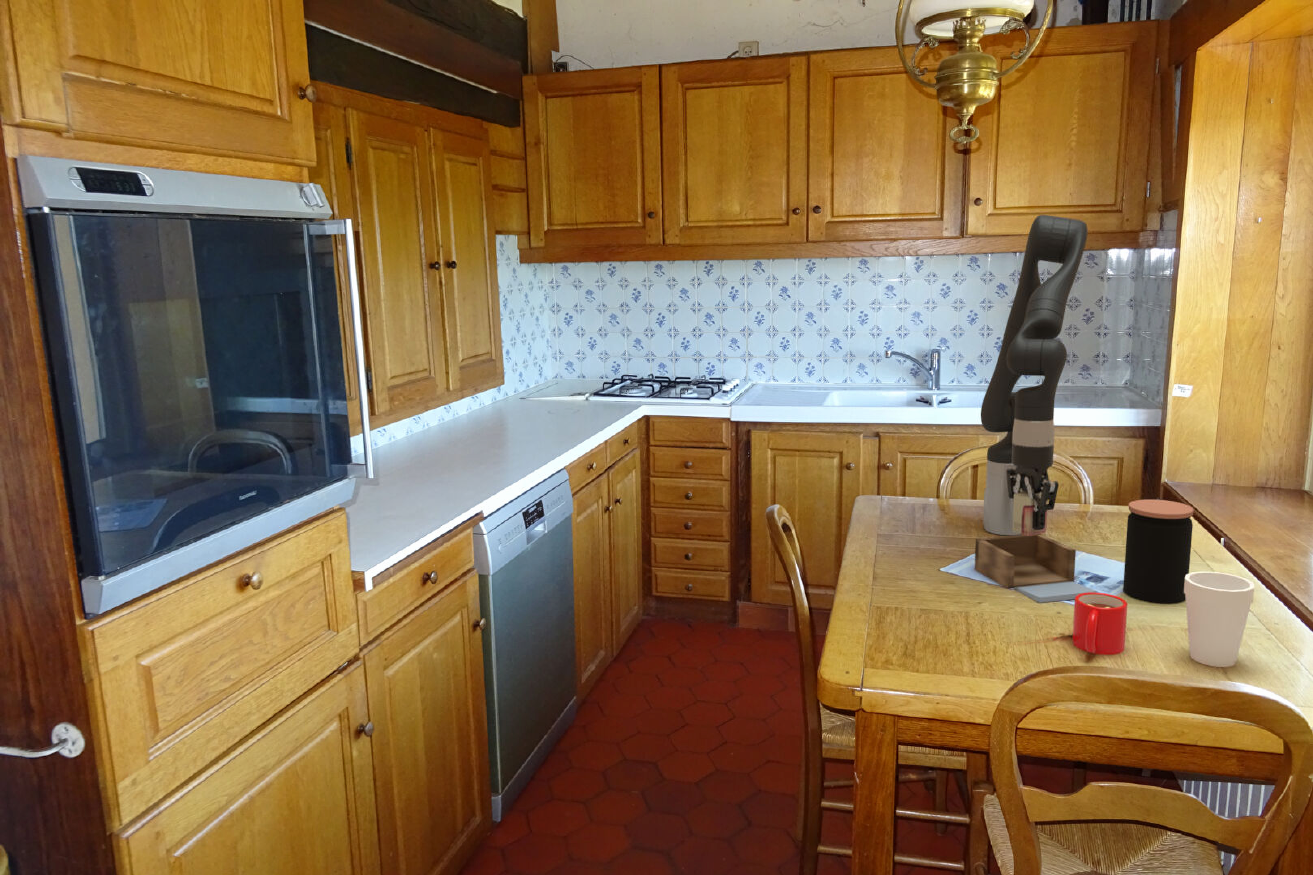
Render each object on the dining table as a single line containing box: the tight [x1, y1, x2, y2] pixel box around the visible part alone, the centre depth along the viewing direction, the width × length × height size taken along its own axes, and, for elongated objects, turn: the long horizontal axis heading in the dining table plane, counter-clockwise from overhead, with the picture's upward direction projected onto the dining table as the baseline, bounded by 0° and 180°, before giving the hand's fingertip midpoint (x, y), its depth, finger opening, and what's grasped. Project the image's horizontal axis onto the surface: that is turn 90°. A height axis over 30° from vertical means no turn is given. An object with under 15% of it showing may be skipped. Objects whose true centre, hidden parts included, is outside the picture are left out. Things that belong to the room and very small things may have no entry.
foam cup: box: [1184, 570, 1255, 668], centre depth 145 cm, size 10×9×13 cm
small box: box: [1012, 492, 1049, 536], centre depth 181 cm, size 5×4×8 cm
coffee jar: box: [1122, 499, 1195, 605], centre depth 171 cm, size 11×11×18 cm
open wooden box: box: [974, 533, 1077, 590], centre depth 184 cm, size 12×14×8 cm
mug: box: [1071, 592, 1128, 656], centre depth 150 cm, size 8×12×8 cm, turn 147°
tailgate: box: [1013, 581, 1098, 604], centre depth 174 cm, size 1×12×8 cm
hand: (1029, 525), depth 181 cm, fingers closed on small box, 5 cm apart
